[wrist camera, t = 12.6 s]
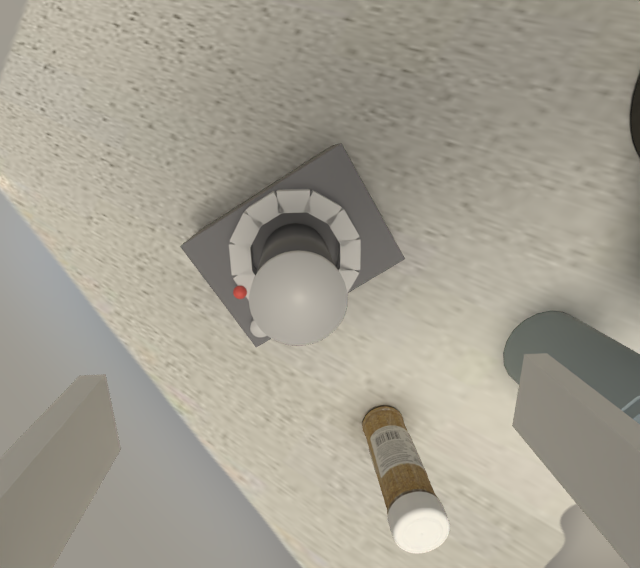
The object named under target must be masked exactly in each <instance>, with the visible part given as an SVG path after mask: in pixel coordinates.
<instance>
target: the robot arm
mask: <svg viewBox="0 0 640 568" xmlns="http://www.w3.org/2000/svg"><path fill="white" fill-rule="evenodd" d="M631 124H632V134H633V139H634V143H635V146H636V149H637V151H638V154H639V156H640V78H639V81H638V84H637V87H636V90H635V94H634V99H633V105H632V116H631ZM512 426H513V427H514V428H515V430H516V431H517V432H518V433H519V434H520V436H521V437H522V438H523V439H524V440H525V442H526V443H527V444H528V445H529V447H530V448H531V449H532V450H533V451H534V453H535V454H536V455H537V456H538V457H539V459H540V460H541V461H542V462H543V463H544V465H545V466H546V467H547V468H548V470H549V471H550V472H551V473H552V474H553V476H554V477H555V478H556V479H557V480H558V482H559V483H560V484H561V485H562V487H563V488H564V489H565V490H566V491H567V493H568V494H569V495H570V496H571V497H572V499H573V500H574V501H575V502H576V503H577V505H578V506H579V507H580V508H581V509H582V511H583V512H584V513H585V514H586V516H587V517H588V518H589V519H590V520H591V522H592V523H593V524H594V525H595V526H596V528H597V529H598V530H599V531H600V533H601V534H602V535H603V536H604V537H605V539H606V540H607V541H608V542H609V543H610V544H611V546H612V547H613V548H614V550H615V551H616V552H617V553H618V554H619V556H620V557H621V558H622V559H623V560H624V562H625V563H626V564H627V565H628V566H629V568H640V424H639V423H637V422H636V421H635V420H633V419H632V418H631V417H629V416H628V415H627V414H626V413H624V412H623V411H622V410H620V409H619V408H618V407H616V406H615V405H614V404H612V403H611V402H610V401H609V400H607V399H606V398H605V397H603V396H602V395H601V394H599V393H598V392H597V391H596V390H594V389H593V388H592V387H590V386H589V385H588V384H586V383H585V382H584V381H582V380H581V379H580V378H579V377H577V376H576V375H575V374H573V373H572V372H571V371H569V370H568V369H567V368H566V367H564V366H563V365H562V364H560V363H559V362H558V361H556V360H555V359H554V358H552V357H551V356H550V355H549V354H547V353H541V354H524V358H523V364H522V370H521V376H520V383H519V389H518V395H517V401H516V407H515V413H514V419H513V425H512ZM120 450H121V447H120V442H119V437H118V432H117V428H116V423H115V418H114V413H113V408H112V403H111V398H110V394H109V389H108V384H107V379H106V375H84V376H79V377H78V378H77V379H76V380H75V381H74V382H73V383H72V384H71V385H70V386H69V387H68V388H67V389H66V390H65V391H64V392H63V393H62V394H61V395H60V397H58V399H57V400H55V402H54V403H53V404H52V405H51V406H50V407H49V408H48V409H47V410H46V411H45V412H44V413H43V414H42V415H41V416H40V417H39V418H38V419H37V420H36V421H35V422H34V423H33V425H31V426H30V427H29V429H28V430H27V431H26V432H25V433H24V434H23V435H22V436H21V437H20V438H19V439H18V440H17V441H16V442H15V443H14V444H13V445H12V446H11V447H10V448H9V449H8V450H7V451H6V452H5V453H4V455H3V456H2V457H1V458H0V568H53V566H54V564H55V563H56V561H57V559H58V558H59V556H60V554H61V552H62V551H63V549H64V547H65V545H66V544H67V542H68V540H69V539H70V537H71V535H72V533H73V532H74V530H75V528H76V526H77V525H78V523H79V521H80V519H81V518H82V516H83V514H84V513H85V511H86V509H87V507H88V506H89V504H90V502H91V500H92V499H93V497H94V495H95V493H96V492H97V490H98V488H99V487H100V485H101V483H102V481H103V480H104V478H105V476H106V474H107V473H108V471H109V469H110V468H111V466H112V464H113V462H114V461H115V459H116V457H117V455H118V454H119V452H120Z"/></svg>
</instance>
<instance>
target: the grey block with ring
mask: <svg viewBox="0 0 640 568" xmlns="http://www.w3.org/2000/svg"><path fill="white" fill-rule="evenodd" d="M292 223H299V224H304V225H307V226H310V227H312V228H313V229H315V230H316V231H317V232H318V233H319V234H320V235H321V236H322V237H323V239H324V241H325V243H326V245H327V247H328V250H329V252H330V254H331V257H332V259H333V261H334V264H335V266H336V268H337V269H338V271H339V272H340V274H341V276H342V278H343V280H344V282H345V285H346V288H347V293H349V292H350V291H352V290H354V289H355V288H357V287H359V286H360V285H362V284H364V283H365V282H367V281H369V280H370V279H372V278H374V277H375V276H377V275H379V274H380V273H382V272H384V271H386V270H387V269H389V268H391V267H392V266H394V265H396V264H397V263H399V262H401V261H402V260H404V259H405V258H404V256H403V254H402V252H401V251H400V249H399V247H398V245H397V243H396V242H395V240H394V238H393V236H392V234H391V233H390V231H389V229H388V227H387V225H386V223H385V222H384V220H383V218H382V216H381V214H380V213H379V211H378V209H377V207H376V205H375V203H374V202H373V200H372V198H371V196H370V194H369V193H368V191H367V189H366V187H365V185H364V183H363V182H362V180H361V178H360V176H359V174H358V173H357V171H356V169H355V167H354V165H353V163H352V162H351V160H350V158H349V156H348V154H347V153H346V151H345V149H344V147H343V145H342V144H337V145H333V146H331V147H330V148H328V149H326V150H325V151H323V152H322V153H320V154H319V155H317V156H315V157H314V158H312V159H311V160H309V161H308V162H306V163H305V164H303V165H301V166H300V167H298V168H297V169H295V170H294V171H292V172H290V173H289V174H287V175H286V176H284V177H283V178H281V179H280V180H278V181H276V182H275V183H273V184H272V185H270V186H269V187H267V188H265V189H264V190H262V191H261V192H259V193H258V194H256V195H255V196H253V197H251V198H250V199H248V200H247V201H245V202H244V203H242V204H240V205H239V206H237V207H236V208H234V209H233V210H231V211H230V212H228V213H226V214H225V215H223V216H222V217H220V218H219V219H217V220H215V221H214V222H212V223H211V224H209V225H208V226H206V227H205V228H203V229H201V230H200V231H198V232H197V233H196V234H195V235H193V236H192V237H191V238H190V239H189V240H187V241H186V242H185V243H184V244H183V245H181V246H180V247H181V248H182V249H183V251H184V252H185V253H186V255H187V256H188V257H189V259H190V260H191V261H192V263H193V264H194V265H195V267H196V268H197V269H198V271H199V272H200V273H201V275H202V276H203V277H204V279H205V280H206V281H207V283H208V284H209V285H210V287H211V288H212V289H213V291H214V292H215V293H216V295H217V296H218V297H219V299H220V300H221V301H222V303H223V304H224V305H225V307H226V308H227V309H228V311H229V312H230V313H231V315H232V316H233V317H234V319H235V320H236V321H237V323H238V324H239V325H240V327H241V328H242V329H243V331H244V332H245V333H246V335H247V336H248V337H249V339H250V340H251V341H252V343H253V344H254V345H255V347H258V346H259V345H261V344H263V343H264V342H266V341H268V340H269V339H271V338H270V337H268V336H267V335H266V334H265V333H264V332H262V331H261V330H260V328H259V327H258V326H257V324H256V323H255V321H254V319H253V317H252V314H251V311H250V306H249V294H250V289H251V285H252V282H253V280H254V277H255V275H256V274H257V270H258V267H259V263H260V259H261V256H262V252H263V248H264V245H265V242H266V240H267V239H268V237H269V236H270V235H271V233H272V232H274V231H275V230H276V229H278V228H279V227H281V226H284V225H286V224H292Z"/></svg>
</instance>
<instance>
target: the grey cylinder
mask: <svg viewBox="0 0 640 568" xmlns="http://www.w3.org/2000/svg"><path fill="white" fill-rule="evenodd" d="M347 304H348V293H347V288H346V285H345V282H344V280H343V278H342V276H341V274H340V272H339V271H338V269H337V268H336V266H335V264H334V261H333V259H332V257H331V254H330V252H329V250H328V247H327V245H326V243H325V241H324V239H323V237H322V236H321V235H320V234H319V233H318V232H317V231H316V230H315V229H313V228H312V227H310V226H307V225H304V224H299V223H292V224H286V225H284V226H281V227H279V228H278V229H276V230H275V231H274V232H272V233H271V235H270V236H269V237H268V239H267V240H266V242H265V245H264V248H263V252H262V256H261V259H260V263H259V267H258V270H257V274H256V275H255V277H254V280H253V282H252V285H251V289H250V294H249V306H250V311H251V314H252V317H253V319H254V321H255V323H256V324H257V326H258V327H259V328H260V330H261V331H262V332H264V333H265V334H266V335H267V336H268V337H270V338H271V339H273V340H275V341H277V342H280V343H283V344H286V345H292V346H303V345H309V344H313V343H316V342H319V341H321V340H323V339H324V338H326V337H328V336H329V335H330V334H331V333H333V332H334V331H335V330H336V329H337V327H338V326H339V325H340V323H341V322H342V320H343V318H344V316H345V313H346V309H347Z"/></svg>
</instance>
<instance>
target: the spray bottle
mask: <svg viewBox="0 0 640 568" xmlns="http://www.w3.org/2000/svg"><path fill="white" fill-rule="evenodd" d="M541 353H547V354H549V355H550V356H551V357H552V358H554V359H555V360H556V361H558V362H559V363H560V364H562V365H563V366H564V367H566V368H567V369H568V370H569V371H571V372H572V373H573V374H575V375H576V376H577V377H579V378H580V379H581V380H582V381H584V382H585V383H586V384H588V385H589V386H590V387H592V388H593V389H594V390H596V391H597V392H598V393H599V394H601V395H602V396H603V397H605V398H606V399H607V400H609V401H610V402H611V403H612V404H614V405H615V406H616V407H618V408H619V409H620V410H622V411H623V412H624V413H626V414H627V415H628V416H629V417H631V418H632V419H633V420H635V421H636V422H637V423H639V424H640V354H638V353H637V352H635V351H633V350H631V349H629V348H628V347H626V346H624V345H622V344H621V343H619V342H617V341H615V340H613V339H612V338H610V337H608V336H606V335H605V334H603V333H601V332H599V331H598V330H596V329H594V328H592V327H590V326H589V325H587V324H585V323H583V322H582V321H580V320H578V319H576V318H574V317H572V316H570V315H568V314H566V313H564V312H556V311H548V312H543V313H539V314H536V315H534V316H532V317H530V318H528V319H526V320H524V321H523V322H522V323H521V324H520V325H519V326H518V327H517V328H516V329H514V331H513V332H512V334H511V336H510V337H509V339H508V340H507V343H506V346H505V349H504V353H503V354H504V366H505V368H506V370H507V372H508V374H509V375H510V376H511V377H512V378H513V379H514V380H515V381H516V382H517V383H518V384H519V383H520V376H521V370H522V364H523V358H524V354H541Z"/></svg>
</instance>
